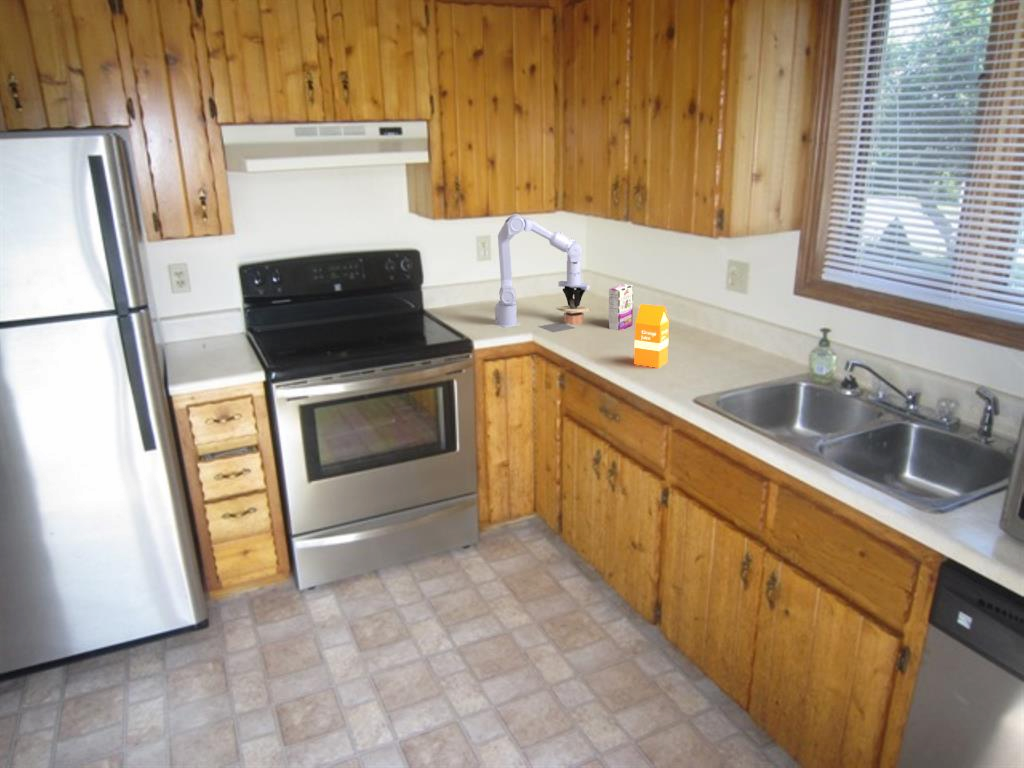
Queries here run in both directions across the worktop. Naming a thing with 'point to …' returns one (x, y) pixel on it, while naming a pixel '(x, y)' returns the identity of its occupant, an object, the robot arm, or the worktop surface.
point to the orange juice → (651, 336)
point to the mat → (556, 327)
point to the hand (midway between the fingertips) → (573, 305)
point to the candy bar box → (620, 307)
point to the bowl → (573, 318)
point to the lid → (573, 308)
